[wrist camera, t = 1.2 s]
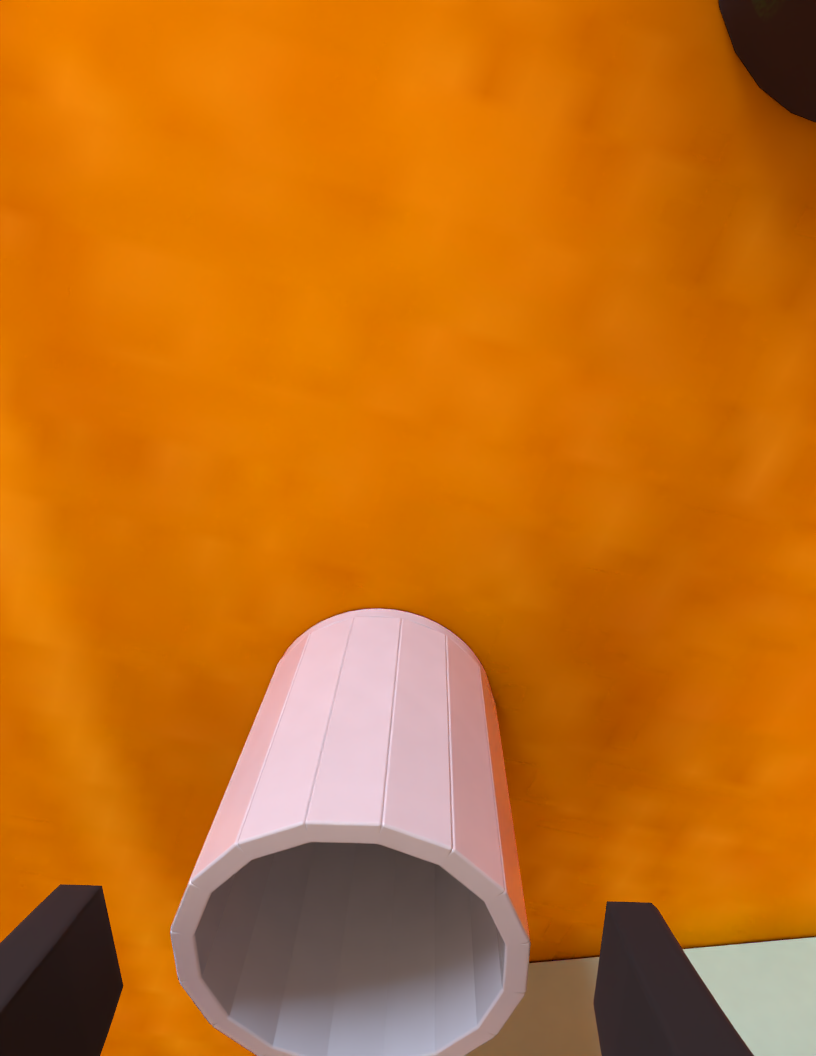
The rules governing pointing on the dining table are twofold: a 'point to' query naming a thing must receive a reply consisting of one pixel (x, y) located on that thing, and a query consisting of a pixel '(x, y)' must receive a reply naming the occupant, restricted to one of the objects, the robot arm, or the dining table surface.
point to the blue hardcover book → (728, 972)
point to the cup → (777, 48)
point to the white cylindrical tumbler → (362, 856)
